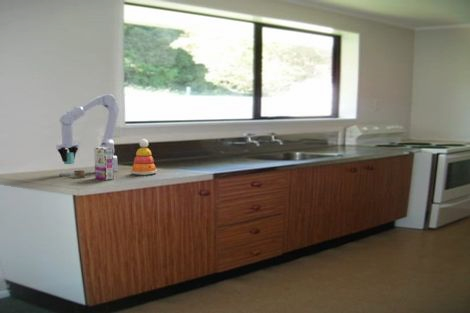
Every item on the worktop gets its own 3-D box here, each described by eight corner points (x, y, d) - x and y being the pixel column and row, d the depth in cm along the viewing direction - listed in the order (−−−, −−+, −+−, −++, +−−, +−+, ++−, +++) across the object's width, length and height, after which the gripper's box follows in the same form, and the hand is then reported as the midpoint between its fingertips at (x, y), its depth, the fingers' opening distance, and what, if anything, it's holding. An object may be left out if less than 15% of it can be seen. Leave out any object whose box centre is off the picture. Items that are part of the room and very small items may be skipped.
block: (74, 163, 269) (73, 152, 268) (71, 164, 265) (70, 153, 264) (67, 163, 269) (66, 152, 268) (64, 164, 265) (63, 153, 264)
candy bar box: (114, 179, 251) (113, 147, 249) (105, 180, 247) (104, 148, 246) (103, 177, 259) (102, 146, 257) (94, 178, 255) (93, 147, 253)
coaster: (77, 173, 274) (77, 172, 274) (78, 175, 265) (78, 174, 265) (60, 174, 271) (60, 173, 271) (60, 176, 262) (60, 175, 262)
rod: (82, 177, 261) (82, 172, 261) (81, 177, 259) (81, 173, 259) (71, 177, 261) (71, 172, 260) (70, 178, 258) (70, 173, 258)
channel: (84, 175, 264) (83, 170, 264) (84, 177, 258) (84, 172, 258) (74, 176, 263) (74, 170, 262) (74, 178, 256) (74, 172, 256)
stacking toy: (145, 176, 259) (144, 140, 257) (125, 174, 266) (124, 139, 264) (162, 173, 272) (161, 138, 269) (142, 171, 279) (141, 137, 276)
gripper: (62, 137, 257) (63, 162, 259) (82, 135, 270) (83, 159, 272) (52, 137, 260) (54, 162, 262) (73, 135, 273) (74, 159, 275)
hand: (68, 161), depth 267 cm, fingers closed on block, 5 cm apart
